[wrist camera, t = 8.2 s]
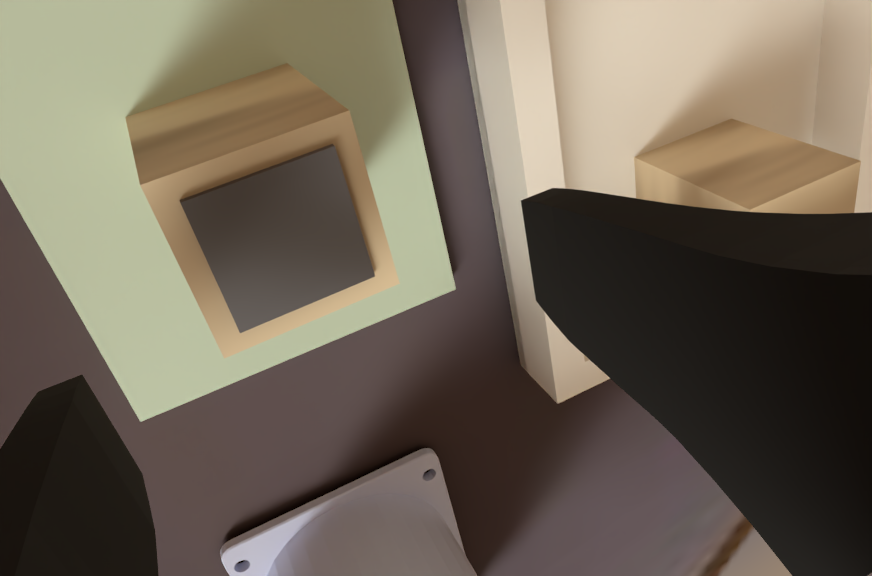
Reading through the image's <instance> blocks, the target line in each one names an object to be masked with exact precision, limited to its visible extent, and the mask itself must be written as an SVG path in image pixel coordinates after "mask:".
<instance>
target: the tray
mask: <svg viewBox="0 0 872 576" xmlns="http://www.w3.org/2000/svg"><path fill="white" fill-rule="evenodd" d="M457 3H458V8H459V14H460V20H461V26H462V31H463V37H464V43H465V49H466V54H467V60H468V66H469V72H470V77H471V83H472V89H473V95H474V100H475V106H476V112H477V118H478V123H479V129H480V135H481V141H482V146H483V152H484V158H485V164H486V169H487V175H488V181H489V187H490V192H491V198H492V204H493V210H494V215H495V221H496V227H497V233H498V238H499V244H500V250H501V256H502V261H503V267H504V273H505V279H506V284H507V290H508V296H509V302H510V307H511V313H512V319H513V325H514V330H515V336H516V342H517V348H518V353H519V359H520V365H521V366H522V367H523V368H524V369H525V370H526V371H527V373H528V374H529V375H530V376H531V377H532V378H533V379H534V380H535V381H536V382H537V383H538V384H539V385H540V386H541V387H542V388H543V389H544V390H545V391H546V392H547V393H548V394H549V395H550V397H551V398H552V399H553V400H554V401H555V402H556V403H557V404H558V403H560V402H563V401H565V400H567V399H569V398H571V397H573V396H575V395H577V394H579V393H581V392H583V391H585V390H587V389H589V388H591V387H594V386H596V385H598V384H600V383H602V382H604V381H606V380H608V379H610V378H609V377H608V376H607V375H606V374H605V373H604V372H603V371H601V370H600V369H599V368H598V367H597V366H596V365H595V364H594V363H593V362H591V361H590V360H589V359H588V358H587V357H586V356H585V355H584V354H583V353H582V352H580V351H579V350H578V349H577V348H576V347H575V346H574V345H573V344H572V343H571V342H570V341H569V340H568V339H567V338H566V337H565V336H564V335H563V333H562V332H561V331H560V330H559V329H558V328H557V326H556V325H555V324H554V323H553V322H552V320H551V319H550V318H549V317H548V315H547V314H546V313H545V312H544V310H543V309H542V308H541V307H540V305H539V304H538V303H537V302H536V298H535V292H534V285H533V279H532V272H531V265H530V259H529V252H528V245H527V239H526V232H525V226H524V219H523V212H522V206H521V200H523V199H526V198H528V197H531V196H533V195H536V194H538V193H541V192H543V191H546V190H548V189H551V188H565V189H576V190H584V191H591V192H598V193H605V194H611V195H618V196H624V197H630V198H636V184H635V165H634V157H636V156H638V155H641V154H644V153H646V152H649V151H651V150H654V149H656V148H659V147H661V146H664V145H666V144H669V143H671V142H674V141H676V140H679V139H681V138H684V137H686V136H689V135H691V134H694V133H696V132H699V131H701V130H704V129H706V128H709V127H711V126H714V125H716V124H719V123H722V122H724V121H727V120H729V119H735V120H738V121H741V122H744V123H747V124H750V125H753V126H756V127H759V128H762V129H765V130H768V131H771V132H774V133H777V134H780V135H783V136H786V137H789V138H793V139H796V140H799V141H802V142H805V143H808V144H811V145H814V146H817V147H820V148H823V149H826V150H829V151H832V152H835V153H838V154H841V155H844V156H847V157H850V158H854V159H857V160H860V161H861V165H860V172H859V180H858V187H857V195H856V203H855V210H854V213H865V212H872V0H457Z"/></svg>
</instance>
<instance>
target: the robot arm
mask: <svg viewBox="0 0 872 576" xmlns="http://www.w3.org/2000/svg"><path fill="white" fill-rule="evenodd" d="M521 206H522V212H523V219H524V226H525V232H526V239H527V245H528V252H529V259H530V265H531V272H532V279H533V285H534V292H535V298H536V302H537V303H538V304H539V305H540V307H541V308H542V309H543V310H544V312H545V313H546V314H547V315H548V317H549V318H550V319H551V320H552V322H553V323H554V324H555V325H556V326H557V328H558V329H559V330H560V331H561V332H562V333H563V335H564V336H565V337H566V338H567V339H568V340H569V341H570V342H571V343H572V344H573V345H574V346H575V347H576V348H577V349H578V350H579V351H580V352H582V353H583V354H584V355H585V356H586V357H587V358H588V359H589V360H590V361H591V362H593V363H594V364H595V365H596V366H597V367H598V368H599V369H600V370H601V371H603V372H604V373H605V374H606V375H607V376H608V377H609V378H611V379H612V380H613V381H614V382H615V383H616V384H617V385H618V386H620V387H621V388H622V389H623V390H624V391H625V392H626V393H628V394H629V395H630V396H631V397H632V398H633V399H634V400H635V401H637V402H638V403H639V404H640V405H641V406H642V407H643V408H644V409H646V410H647V411H648V412H649V413H650V414H651V415H652V416H654V417H655V418H656V419H657V420H658V421H659V422H660V423H661V424H662V425H663V426H664V427H665V428H666V429H667V430H668V431H669V432H670V433H671V434H672V435H673V436H674V437H675V438H676V439H677V440H678V441H679V442H680V443H681V444H682V445H683V446H684V447H685V449H686V450H687V451H688V452H689V453H690V454H691V455H692V456H693V457H694V459H695V460H696V461H697V462H698V463H699V464H700V465H701V466H702V467H703V468H704V470H705V471H706V472H707V473H708V474H709V475H710V476H711V477H712V478H713V480H714V481H715V482H716V483H717V484H718V485H719V487H720V488H721V489H722V490H723V491H724V493H725V494H726V495H727V496H728V497H729V498H730V500H731V501H732V502H733V503H734V504H735V505H736V507H737V508H738V509H739V510H740V511H741V513H742V514H743V515H744V516H745V517H746V518H747V520H748V521H749V522H750V523H751V524H752V525H753V527H754V528H755V529H756V530H757V532H758V533H759V534H760V535H761V537H762V538H763V539H764V540H765V542H766V543H767V544H768V545H769V547H770V548H771V549H772V550H773V552H774V553H775V554H776V556H777V557H778V558H779V559H780V561H781V562H782V563H783V564H784V566H785V567H786V568H787V569H788V571H789V572H790V573H791V574H792V576H872V212H865V213H837V214H791V213H763V212H745V211H731V210H721V209H712V208H702V207H693V206H685V205H678V204H670V203H663V202H656V201H650V200H643V199H637V198H630V197H624V196H618V195H611V194H605V193H598V192H591V191H584V190H576V189H565V188H551V189H548V190H546V191H543V192H541V193H538V194H536V195H533V196H531V197H528V198H526V199H523V200H521ZM429 469H430V471H429V472H427V473H425V474H424V472H426V471H427V470H429ZM220 555H221V560H222V563H223V565H224V567H225V569H226V570H227V572H228V574H229V576H477V574H476V572H475V571H474V569H473V567H472V566H471V564H470V562H469V560H468V559H467V557H466V555H465V552H464V548H463V544H462V541H461V537H460V534H459V530H458V526H457V523H456V519H455V516H454V512H453V509H452V505H451V501H450V498H449V494H448V491H447V487H446V483H445V480H444V476H443V473H442V469H441V466H440V462H439V458H438V457H437V455H436V454H435V452H434V451H433V450H432V449H430V448H423V449H420V450H418V451H416V452H414V453H412V454H409V455H407V456H405V457H403V458H401V459H399V460H397V461H395V462H393V463H391V464H388V465H386V466H384V467H382V468H380V469H378V470H376V471H374V472H372V473H370V474H367V475H365V476H363V477H361V478H359V479H357V480H355V481H353V482H351V483H349V484H346V485H344V486H342V487H340V488H338V489H336V490H334V491H332V492H330V493H328V494H325V495H323V496H321V497H319V498H317V499H315V500H313V501H311V502H309V503H306V504H304V505H302V506H300V507H298V508H296V509H294V510H292V511H290V512H288V513H285V514H283V515H281V516H279V517H277V518H275V519H273V520H271V521H269V522H267V523H264V524H262V525H260V526H258V527H256V528H254V529H252V530H250V531H248V532H246V533H243V534H241V535H239V536H237V537H235V538H233V539H231V540H229V541H228V542H226V543H225V544H224V545H223V546H222V547H221V550H220ZM242 560H245V561H244V562H242V563H239V564H238V562H239V561H242ZM0 576H158V564H157V550H156V538H155V529H154V524H153V519H152V515H151V510H150V505H149V501H148V497H147V492H146V488H145V484H144V479H143V475H142V473H141V471H140V469H139V468H138V466H137V464H136V463H135V461H134V459H133V458H132V456H131V454H130V453H129V451H128V449H127V448H126V446H125V444H124V443H123V441H122V440H121V438H120V436H119V435H118V433H117V431H116V430H115V428H114V426H113V425H112V423H111V421H110V420H109V418H108V416H107V415H106V413H105V411H104V410H103V408H102V407H101V405H100V403H99V402H98V400H97V398H96V397H95V395H94V393H93V392H92V390H91V388H90V387H89V385H88V383H87V382H86V380H85V378H84V377H83V375H80V376H77V377H75V378H72V379H70V380H67V381H65V382H62V383H60V384H57V385H54V386H52V387H49V388H47V389H44V390H42V391H39V392H38V393H37V394H36V396H35V397H34V398H33V399H32V401H31V402H30V404H29V405H28V407H27V408H26V410H25V411H24V413H23V414H22V416H21V417H20V419H19V421H18V422H17V424H16V425H15V427H14V428H13V430H12V432H11V433H10V435H9V436H8V438H7V439H6V441H5V443H4V444H3V446H2V447H1V449H0Z"/></svg>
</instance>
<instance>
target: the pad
mask: <svg viewBox="0 0 872 576" xmlns="http://www.w3.org/2000/svg"><path fill="white" fill-rule="evenodd" d="M286 63H288V64H289V65H290V66H292V67H293V68H294V69H296V70H297V71H298V72H300V73H301V74H302V75H304V76H305V77H306V78H307V79H309V80H310V81H311V82H313V83H314V84H315V85H317V86H318V87H319V88H321V89H322V90H323V91H325V92H326V93H327V94H329V95H330V96H331V97H332V98H334V99H335V100H336V101H338V102H339V103H340V104H342V105H343V106H344V107H346V108H347V109H348V110H349V111H350V114H351V118H352V121H353V125H354V128H355V132H356V135H357V138H358V142H359V145H360V149H361V152H362V156H363V159H364V162H365V166H366V169H367V173H368V176H369V180H370V183H371V186H372V190H373V193H374V197H375V200H376V204H377V207H378V210H379V214H380V217H381V221H382V224H383V228H384V231H385V234H386V238H387V241H388V245H389V248H390V252H391V255H392V258H393V262H394V265H395V269H396V272H397V276H398V279H399V282H400V284H398V285H395V286H393V287H391V288H388V289H386V290H384V291H381V292H379V293H377V294H374V295H372V296H370V297H367V298H365V299H363V300H360V301H358V302H356V303H353V304H351V305H349V306H346V307H344V308H341V309H339V310H337V311H334V312H332V313H330V314H327V315H325V316H323V317H320V318H318V319H316V320H313V321H311V322H309V323H306V324H304V325H302V326H299V327H297V328H295V329H292V330H290V331H288V332H285V333H283V334H281V335H278V336H276V337H274V338H271V339H269V340H267V341H264V342H262V343H260V344H257V345H255V346H253V347H250V348H248V349H246V350H243V351H241V352H239V353H236V354H234V355H232V356H229V357H227V358H225V359H224V357H223V355H222V353H221V351H220V349H219V347H218V345H217V343H216V340H215V338H214V336H213V334H212V332H211V330H210V328H209V326H208V324H207V322H206V320H205V318H204V316H203V314H202V312H201V310H200V308H199V305H198V303H197V301H196V299H195V297H194V295H193V293H192V291H191V289H190V287H189V285H188V283H187V281H186V279H185V277H184V275H183V273H182V270H181V268H180V266H179V264H178V262H177V260H176V258H175V256H174V254H173V252H172V250H171V248H170V246H169V244H168V242H167V240H166V238H165V235H164V233H163V231H162V229H161V227H160V225H159V223H158V221H157V219H156V217H155V215H154V213H153V211H152V209H151V207H150V205H149V203H148V201H147V198H146V196H145V194H144V192H143V190H142V188H141V186H140V183H139V178H138V173H137V169H136V164H135V160H134V155H133V151H132V146H131V141H130V137H129V132H128V128H127V123H126V119H125V117H127V116H130V115H133V114H136V113H139V112H142V111H145V110H148V109H151V108H154V107H157V106H160V105H163V104H166V103H169V102H172V101H175V100H178V99H181V98H184V97H187V96H190V95H193V94H196V93H199V92H202V91H205V90H208V89H211V88H214V87H217V86H220V85H223V84H226V83H229V82H232V81H235V80H238V79H241V78H244V77H247V76H250V75H253V74H256V73H259V72H262V71H265V70H268V69H271V68H274V67H277V66H280V65H283V64H286ZM0 179H1V180H2V182H3V184H4V186H5V187H6V189H7V191H8V193H9V194H10V196H11V198H12V200H13V201H14V203H15V205H16V206H17V208H18V210H19V212H20V213H21V215H22V217H23V219H24V220H25V222H26V224H27V226H28V227H29V229H30V231H31V233H32V234H33V236H34V238H35V239H36V241H37V243H38V245H39V246H40V248H41V250H42V252H43V253H44V255H45V257H46V259H47V260H48V262H49V264H50V265H51V267H52V269H53V271H54V272H55V274H56V276H57V278H58V279H59V281H60V283H61V285H62V286H63V288H64V290H65V292H66V293H67V295H68V297H69V298H70V300H71V302H72V304H73V305H74V307H75V309H76V311H77V312H78V314H79V316H80V318H81V319H82V321H83V323H84V325H85V326H86V328H87V330H88V331H89V333H90V335H91V337H92V338H93V340H94V342H95V344H96V345H97V347H98V349H99V351H100V352H101V354H102V356H103V357H104V359H105V361H106V363H107V364H108V366H109V368H110V370H111V371H112V373H113V375H114V377H115V378H116V380H117V382H118V384H119V385H120V387H121V389H122V390H123V392H124V394H125V396H126V397H127V399H128V401H129V403H130V404H131V406H132V408H133V410H134V411H135V413H136V415H137V417H138V418H139V420H140V422H141V421H144V420H146V419H149V418H151V417H153V416H156V415H158V414H160V413H163V412H165V411H168V410H170V409H172V408H175V407H177V406H179V405H182V404H184V403H187V402H189V401H191V400H194V399H196V398H198V397H201V396H203V395H206V394H208V393H210V392H213V391H215V390H218V389H220V388H222V387H225V386H227V385H229V384H232V383H234V382H237V381H239V380H241V379H244V378H246V377H248V376H251V375H253V374H256V373H258V372H260V371H263V370H265V369H267V368H270V367H272V366H275V365H277V364H279V363H282V362H284V361H286V360H289V359H291V358H294V357H296V356H298V355H301V354H303V353H305V352H308V351H310V350H313V349H315V348H317V347H320V346H322V345H324V344H327V343H329V342H332V341H334V340H336V339H339V338H341V337H343V336H346V335H348V334H351V333H353V332H355V331H358V330H360V329H362V328H365V327H367V326H370V325H372V324H374V323H377V322H379V321H381V320H384V319H386V318H389V317H391V316H393V315H396V314H398V313H400V312H403V311H405V310H408V309H410V308H412V307H415V306H417V305H419V304H422V303H424V302H427V301H429V300H431V299H434V298H436V297H438V296H441V295H443V294H446V293H448V292H450V291H453V290H455V289H456V288H455V283H454V279H453V274H452V270H451V265H450V260H449V256H448V251H447V247H446V242H445V238H444V233H443V229H442V224H441V220H440V215H439V211H438V206H437V202H436V197H435V193H434V188H433V183H432V179H431V174H430V170H429V165H428V161H427V156H426V152H425V147H424V143H423V138H422V134H421V129H420V125H419V120H418V115H417V111H416V106H415V102H414V97H413V93H412V88H411V84H410V79H409V75H408V70H407V66H406V61H405V57H404V52H403V48H402V43H401V38H400V34H399V29H398V25H397V20H396V16H395V11H394V7H393V2H392V0H0Z"/></svg>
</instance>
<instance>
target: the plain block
mask: <svg viewBox="0 0 872 576" xmlns="http://www.w3.org/2000/svg"><path fill="white" fill-rule="evenodd" d="M634 165H635V184H636V198H637V199H643V200H650V201H656V202H663V203H670V204H678V205H685V206H693V207H702V208H712V209H721V210H731V211H745V212H763V213H791V214H837V213H854V210H855V203H856V195H857V187H858V180H859V172H860V165H861V161H860V160H857V159H854V158H850V157H847V156H844V155H841V154H838V153H835V152H832V151H829V150H826V149H823V148H820V147H817V146H814V145H811V144H808V143H805V142H802V141H799V140H796V139H793V138H789V137H786V136H783V135H780V134H777V133H774V132H771V131H768V130H765V129H762V128H759V127H756V126H753V125H750V124H747V123H744V122H741V121H738V120H735V119H729V120H727V121H724V122H722V123H719V124H716V125H714V126H711V127H709V128H706V129H704V130H701V131H699V132H696V133H694V134H691V135H689V136H686V137H684V138H681V139H679V140H676V141H674V142H671V143H669V144H666V145H664V146H661V147H659V148H656V149H654V150H651V151H649V152H646V153H644V154H641V155H638V156H636V157H634Z"/></svg>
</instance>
